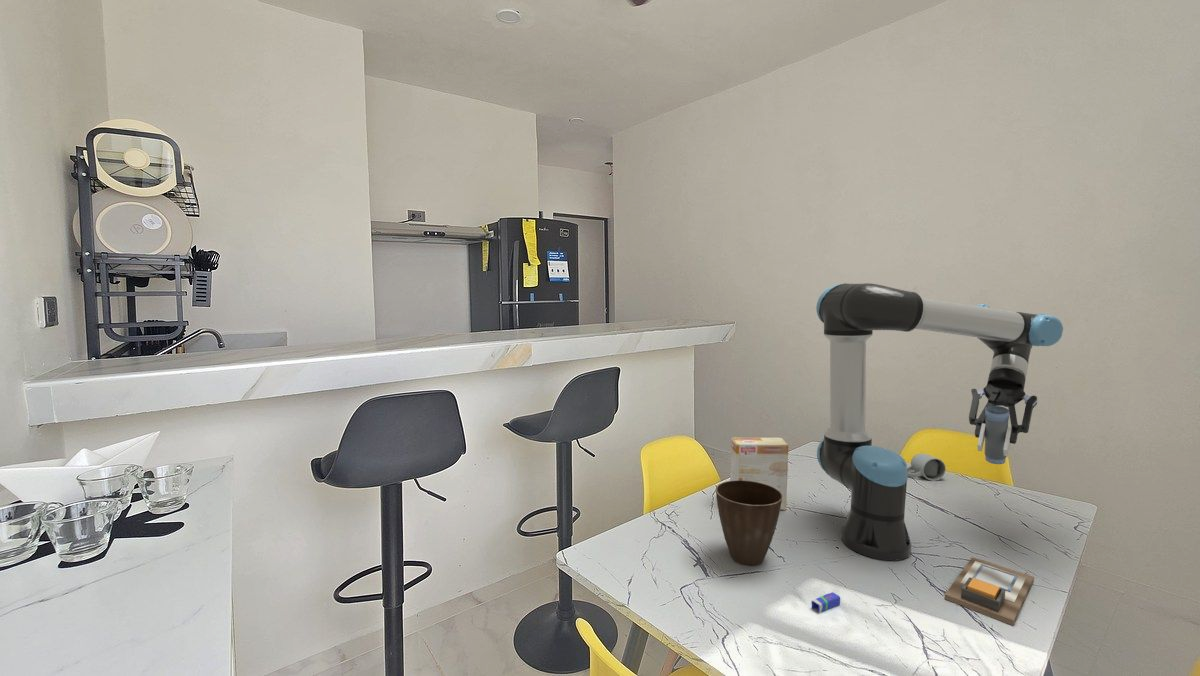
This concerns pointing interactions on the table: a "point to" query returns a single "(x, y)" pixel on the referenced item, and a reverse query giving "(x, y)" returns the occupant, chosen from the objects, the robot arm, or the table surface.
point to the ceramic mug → (926, 467)
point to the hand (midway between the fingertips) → (992, 450)
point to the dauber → (995, 433)
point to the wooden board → (1008, 580)
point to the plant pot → (748, 518)
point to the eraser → (826, 602)
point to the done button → (984, 588)
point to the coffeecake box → (761, 462)
